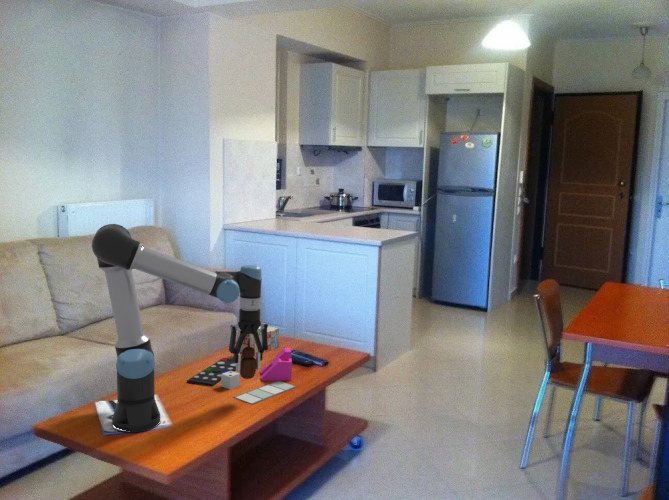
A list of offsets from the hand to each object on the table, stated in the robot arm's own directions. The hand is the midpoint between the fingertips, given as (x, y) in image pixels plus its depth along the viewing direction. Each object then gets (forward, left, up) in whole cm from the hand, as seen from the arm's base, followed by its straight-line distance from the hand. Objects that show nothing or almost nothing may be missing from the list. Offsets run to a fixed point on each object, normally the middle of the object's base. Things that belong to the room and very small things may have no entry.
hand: (247, 370), depth 228 cm
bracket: (+19, +19, -11) cm, 29 cm away
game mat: (+9, +4, -11) cm, 14 cm away
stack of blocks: (+24, +53, -11) cm, 59 cm away
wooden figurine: (0, 0, -3) cm, 3 cm away
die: (-2, +15, -11) cm, 19 cm away
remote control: (-1, +32, -12) cm, 34 cm away
